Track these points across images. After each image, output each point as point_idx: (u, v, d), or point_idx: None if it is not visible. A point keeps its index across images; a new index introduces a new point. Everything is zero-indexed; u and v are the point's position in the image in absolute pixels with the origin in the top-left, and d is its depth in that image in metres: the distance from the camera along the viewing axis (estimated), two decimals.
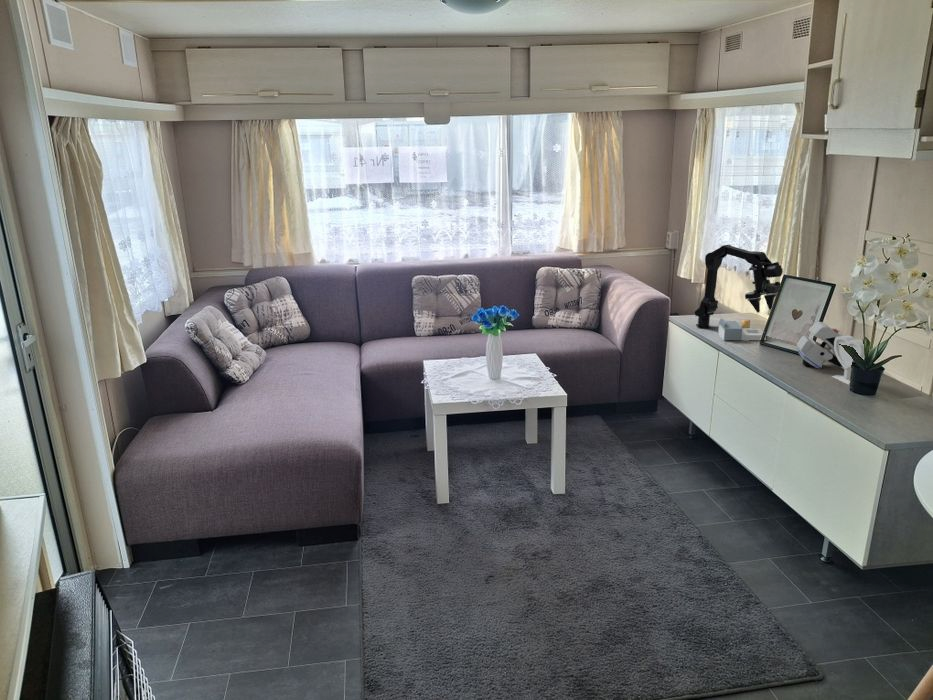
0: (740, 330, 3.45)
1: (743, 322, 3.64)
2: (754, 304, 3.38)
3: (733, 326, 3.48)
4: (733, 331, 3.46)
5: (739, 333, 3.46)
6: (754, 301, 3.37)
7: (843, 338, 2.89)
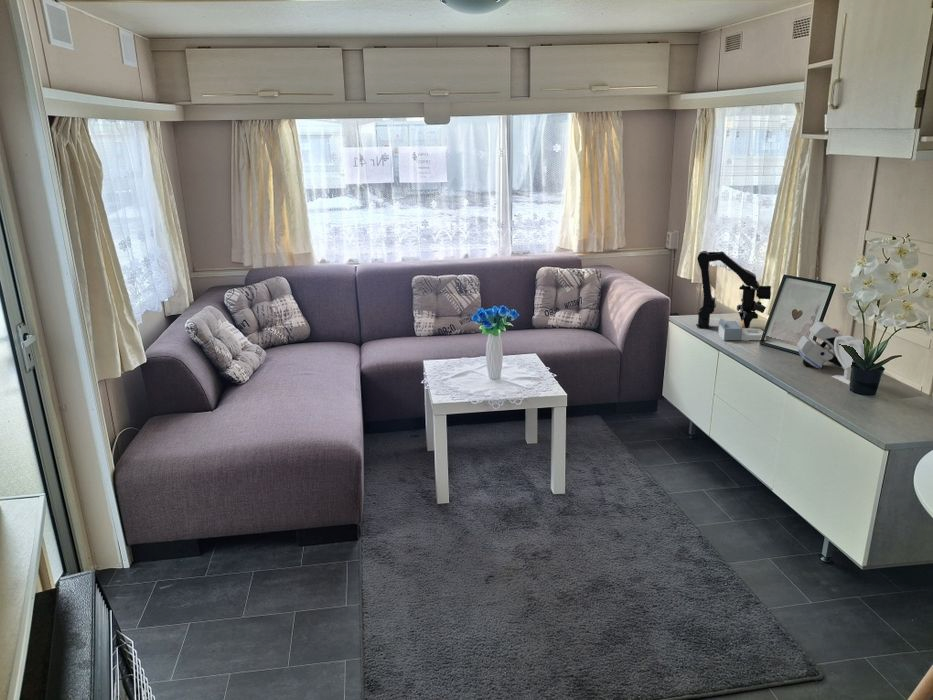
0: (740, 330, 3.45)
1: (743, 322, 3.64)
2: (746, 321, 3.61)
3: (733, 326, 3.48)
4: (733, 331, 3.46)
5: (739, 333, 3.46)
6: (747, 319, 3.61)
7: (843, 338, 2.89)
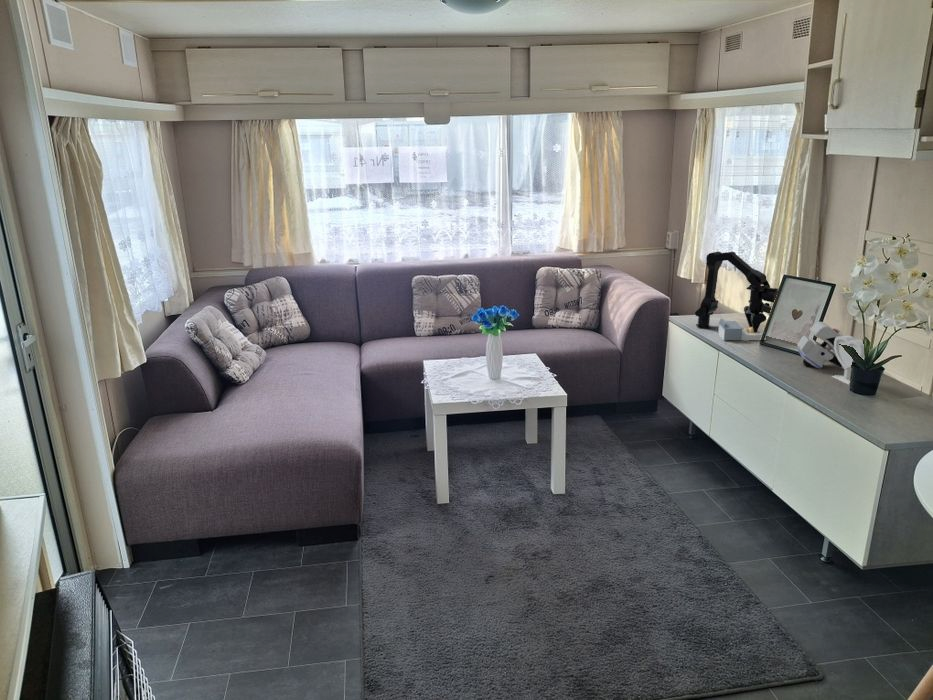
0: (740, 330, 3.45)
1: (750, 330, 3.50)
2: (755, 325, 3.45)
3: (733, 326, 3.48)
4: (733, 331, 3.46)
5: (739, 333, 3.46)
6: (756, 322, 3.44)
7: (843, 338, 2.89)
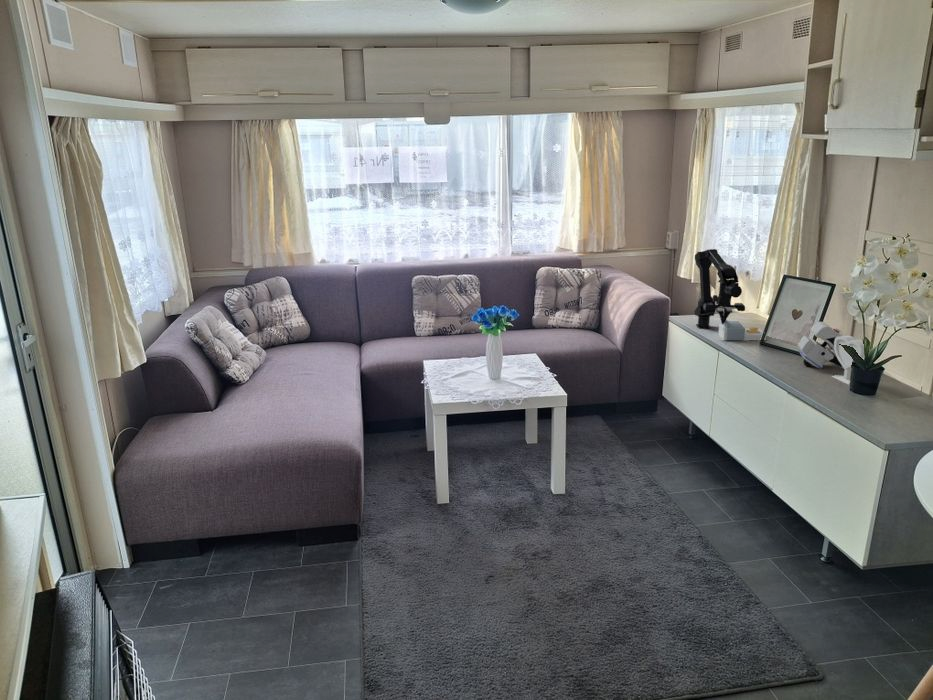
0: (743, 330, 3.45)
1: (750, 330, 3.50)
2: None
3: (736, 326, 3.48)
4: (736, 331, 3.46)
5: (742, 333, 3.46)
6: None
7: (843, 338, 2.89)
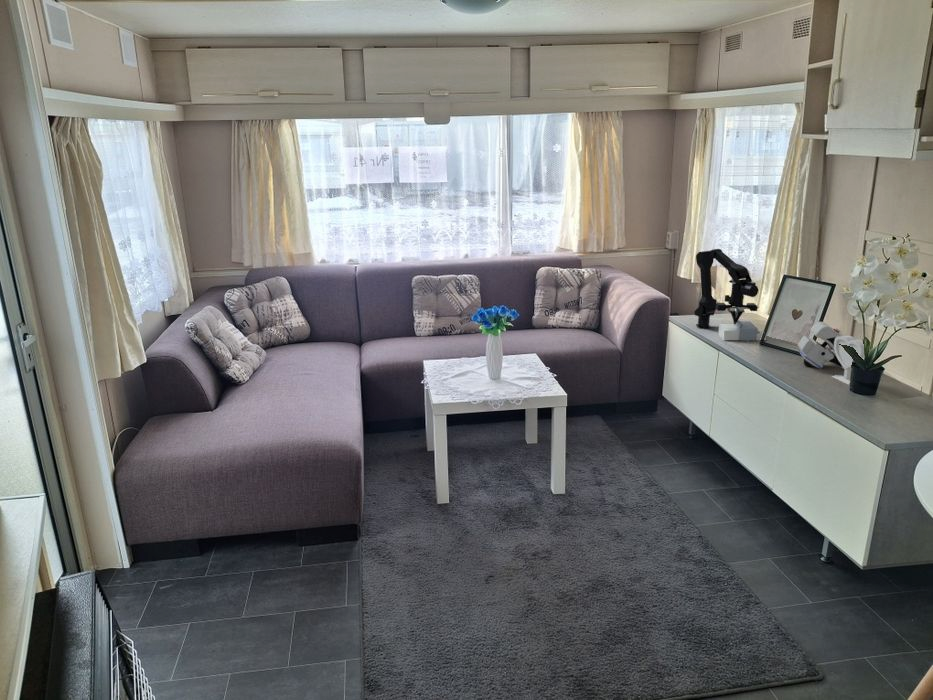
0: (755, 330, 3.44)
1: None
2: None
3: (748, 326, 3.48)
4: (748, 331, 3.45)
5: (754, 333, 3.45)
6: None
7: (843, 338, 2.89)
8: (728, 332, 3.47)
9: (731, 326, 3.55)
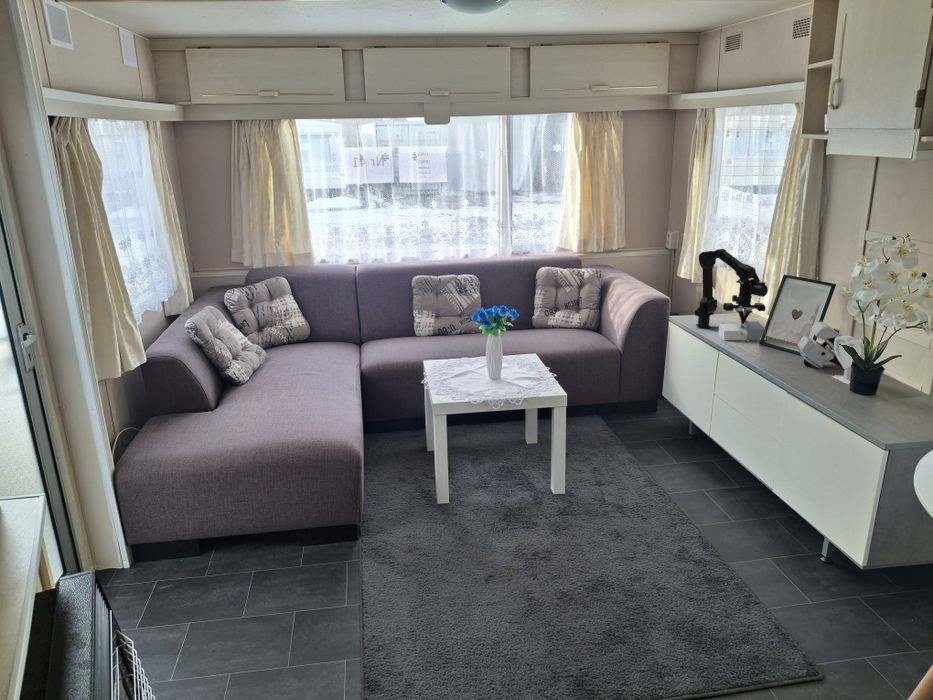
0: (763, 330, 3.44)
1: None
2: None
3: (756, 326, 3.47)
4: (756, 331, 3.44)
5: (762, 333, 3.44)
6: None
7: (843, 338, 2.89)
8: (728, 332, 3.47)
9: (731, 326, 3.55)
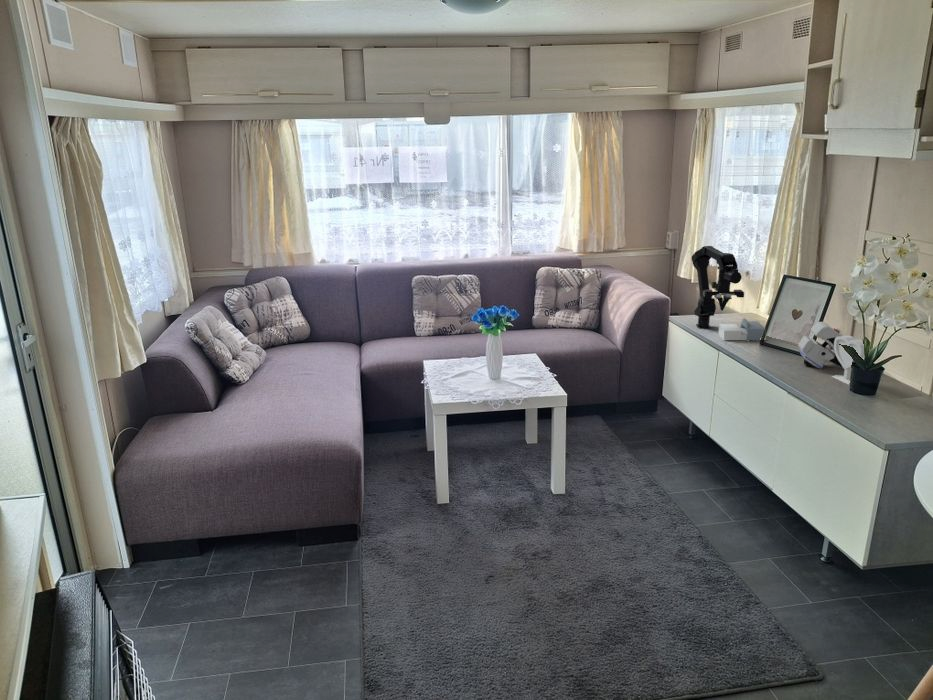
0: (763, 330, 3.44)
1: None
2: None
3: (756, 326, 3.47)
4: (756, 331, 3.44)
5: (762, 333, 3.44)
6: None
7: (843, 338, 2.89)
8: (728, 332, 3.47)
9: (731, 326, 3.55)
